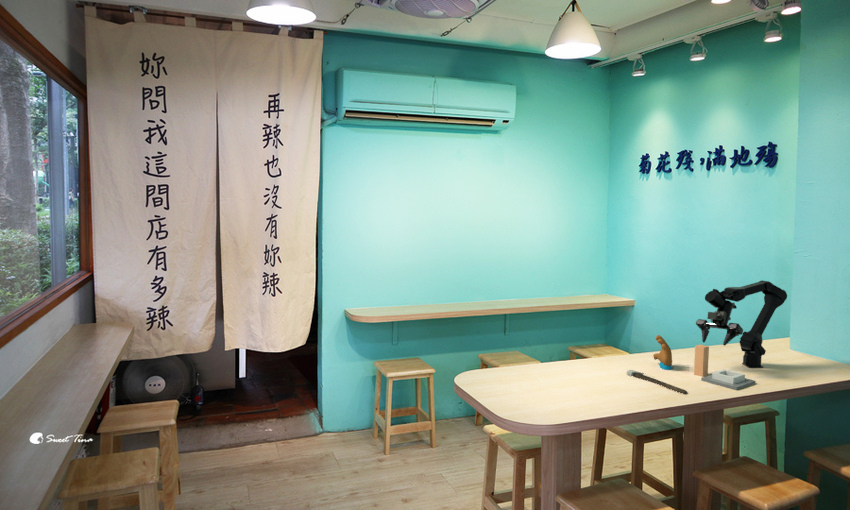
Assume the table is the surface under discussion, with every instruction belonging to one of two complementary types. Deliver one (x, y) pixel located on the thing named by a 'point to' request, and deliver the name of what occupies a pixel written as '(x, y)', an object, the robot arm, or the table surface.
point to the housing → (728, 379)
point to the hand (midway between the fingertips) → (713, 343)
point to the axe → (655, 381)
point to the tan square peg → (701, 360)
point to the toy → (664, 354)
